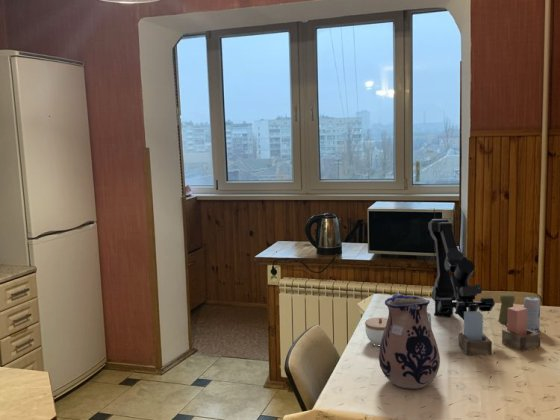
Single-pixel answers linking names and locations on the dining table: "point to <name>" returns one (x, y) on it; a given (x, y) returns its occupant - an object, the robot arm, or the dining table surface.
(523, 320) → the salmon pink block
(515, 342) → the grey-brown wooden tray
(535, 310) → the energy drink
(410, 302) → the ceramic pitcher
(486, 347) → the grey brown open box
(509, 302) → the olive green cylinder
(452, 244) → the robot arm
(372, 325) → the lidded jar
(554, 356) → the dining table surface
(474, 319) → the blue-grey rectangular block
